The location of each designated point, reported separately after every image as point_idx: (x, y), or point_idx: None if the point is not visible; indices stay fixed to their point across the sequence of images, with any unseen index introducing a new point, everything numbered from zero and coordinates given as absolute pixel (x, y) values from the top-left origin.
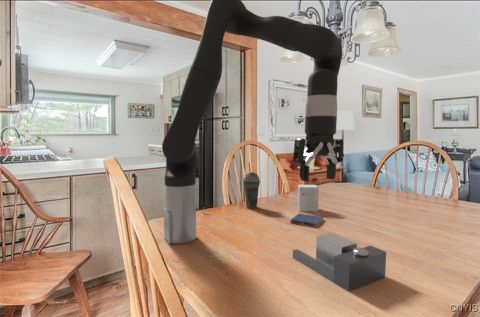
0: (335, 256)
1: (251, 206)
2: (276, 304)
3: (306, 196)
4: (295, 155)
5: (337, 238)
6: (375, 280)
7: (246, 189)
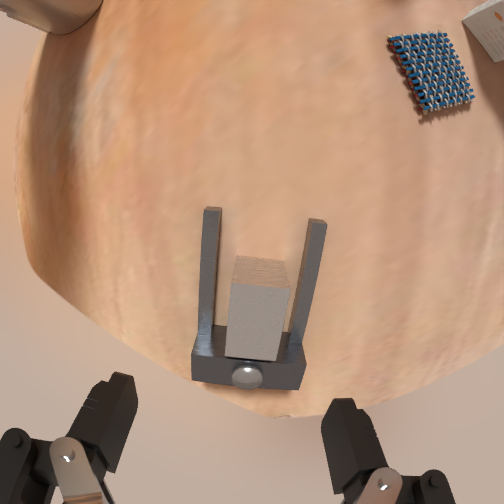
0: (192, 355)
1: None
2: (90, 305)
3: (500, 26)
4: (3, 470)
5: (263, 324)
6: None
7: None
